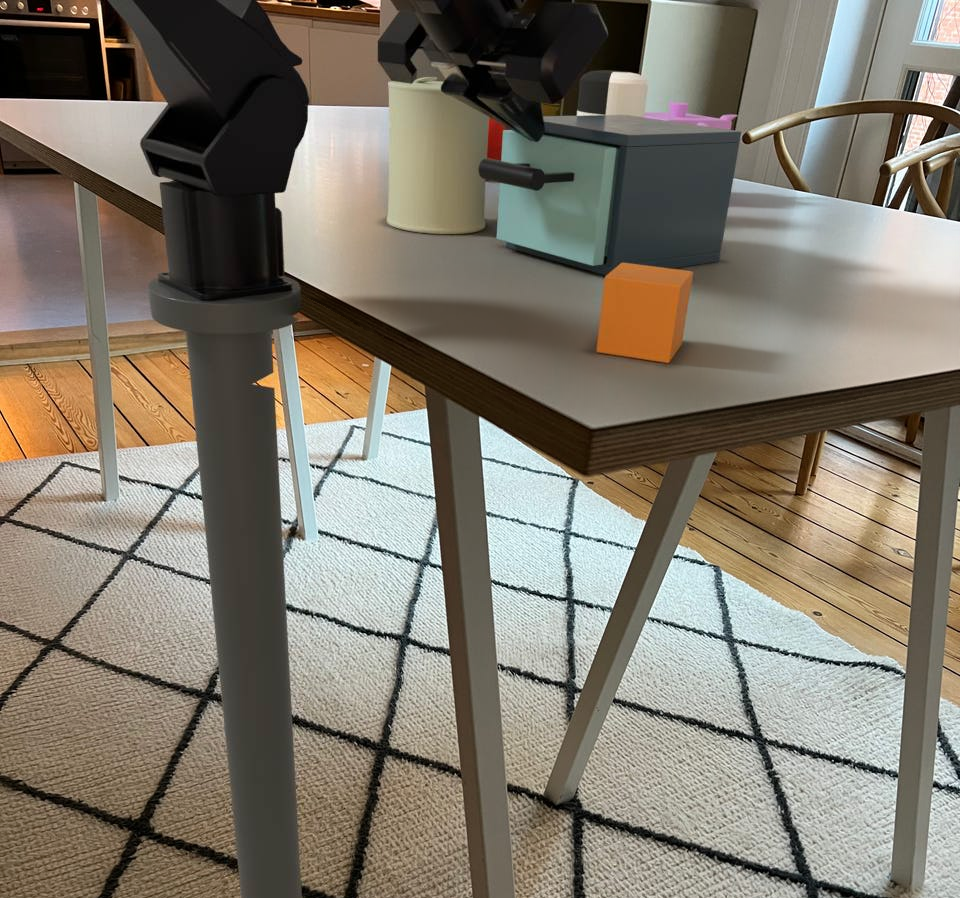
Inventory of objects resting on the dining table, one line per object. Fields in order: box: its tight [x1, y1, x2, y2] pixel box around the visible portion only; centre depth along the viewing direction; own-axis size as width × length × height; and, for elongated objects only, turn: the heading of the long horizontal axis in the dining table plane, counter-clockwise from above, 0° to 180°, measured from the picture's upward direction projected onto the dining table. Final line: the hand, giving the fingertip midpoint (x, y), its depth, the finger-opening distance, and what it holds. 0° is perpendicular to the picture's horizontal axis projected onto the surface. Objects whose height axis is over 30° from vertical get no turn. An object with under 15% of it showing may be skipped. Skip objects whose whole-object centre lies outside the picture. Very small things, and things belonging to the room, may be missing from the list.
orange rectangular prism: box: [595, 263, 694, 364], centre depth 62 cm, size 4×4×4 cm
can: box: [386, 76, 489, 235], centre depth 91 cm, size 9×9×12 cm
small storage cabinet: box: [505, 115, 742, 276], centre depth 85 cm, size 14×13×10 cm
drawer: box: [478, 129, 620, 266], centre depth 82 cm, size 17×11×8 cm, turn 131°
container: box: [576, 69, 649, 117], centre depth 100 cm, size 8×8×13 cm
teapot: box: [644, 101, 739, 130], centre depth 116 cm, size 18×13×10 cm
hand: (538, 136), depth 77 cm, fingers closed
